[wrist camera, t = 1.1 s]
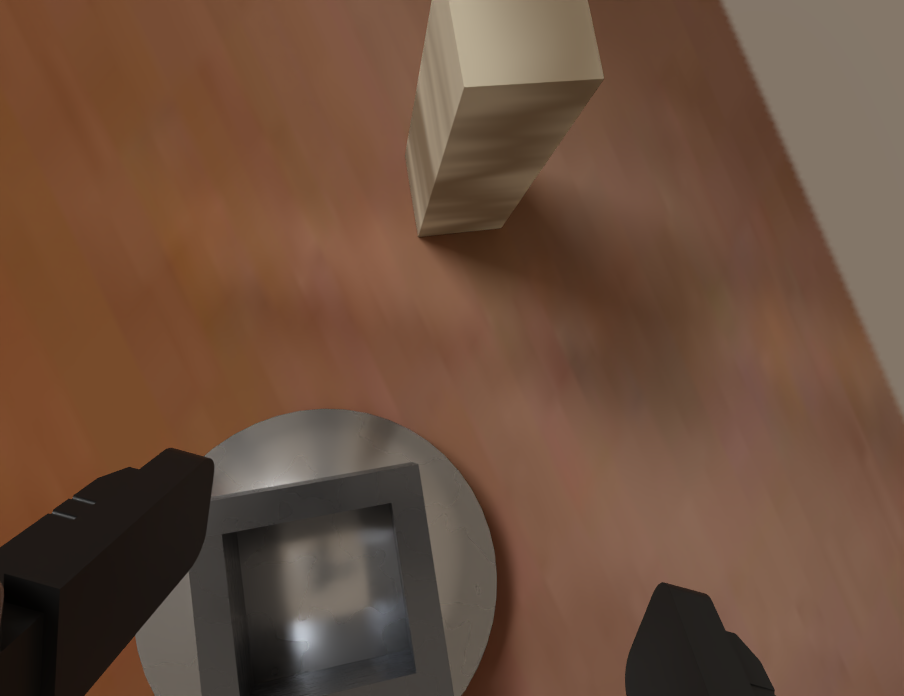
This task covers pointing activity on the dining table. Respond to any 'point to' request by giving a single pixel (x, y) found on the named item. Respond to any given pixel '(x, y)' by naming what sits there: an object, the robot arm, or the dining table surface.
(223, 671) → the rosette plate
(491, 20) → the beige rectangular block
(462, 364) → the dining table surface
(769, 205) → the dining table surface
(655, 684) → the robot arm
